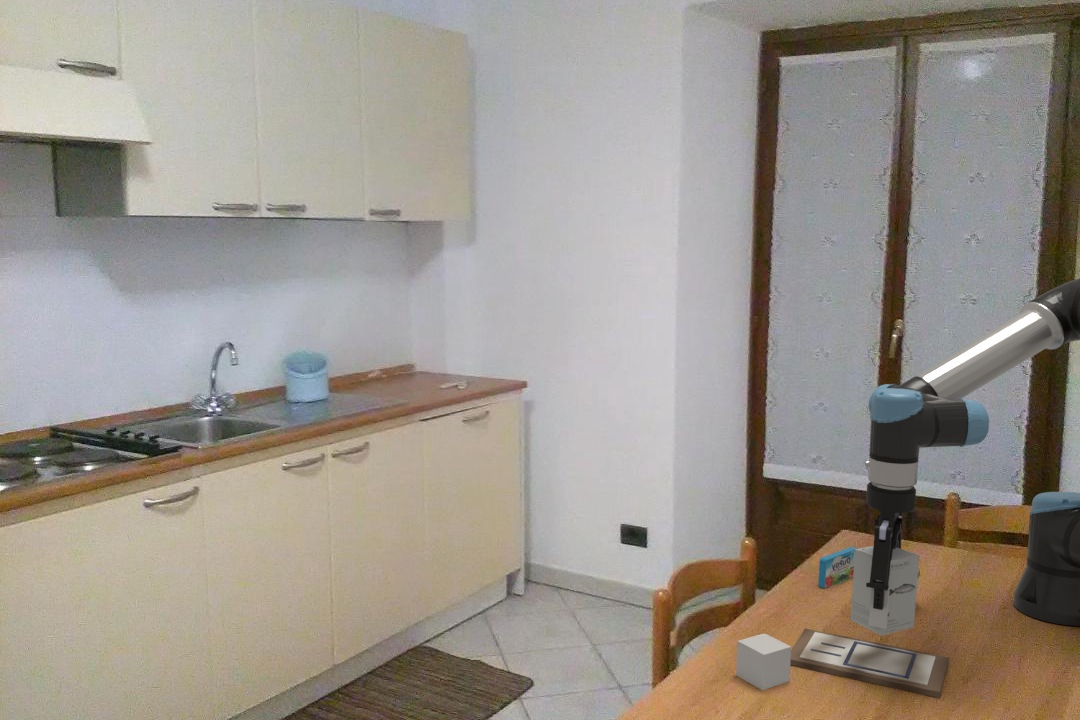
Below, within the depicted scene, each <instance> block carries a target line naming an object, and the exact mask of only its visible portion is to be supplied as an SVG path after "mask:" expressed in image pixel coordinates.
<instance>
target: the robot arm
mask: <svg viewBox="0 0 1080 720" xmlns="http://www.w3.org/2000/svg"><path fill="white" fill-rule="evenodd" d="M1077 341H1080V277H1079V278H1076V279H1073V280H1070V281H1067V282H1065V283H1062V284H1061V285H1058V286H1056V287H1054V288H1052V289H1050V290H1048V291H1046V292H1045V293H1042V294H1041V295H1039V296H1037V297H1035V298H1034V299H1032V300H1030V301H1028V302H1027V303H1025V304H1023V306H1022V307H1021V308H1020V313H1019V314H1017V315H1016V316H1014V317H1012V318H1011V319H1009V320H1007V321H1006V322H1004V323H1003V324H1001V325H999V326H997V327H996V328H994V329H992V330H990V331H989V332H987V333H986V334H984V335H983V336H980V337H979V338H977V339H976V340H974V341H972V342H971V343H969V344H968V345H965V346H964V347H962V348H960V349H959V350H957V351H955V352H953V353H952V354H950V355H949V356H947V357H945V358H943V359H942V360H940V361H938V362H937V363H934V364H933V365H931V366H930V367H928V368H927V369H925V370H924V371H922V372H920V373H918V374H917V375H915V376H914V377H911V378H910V379H908V380H906V381H904V382H902V383H901V384H899V385H898V384H896V383H891V384H890V383H888V384H887V383H885V384H881V385H879V386H878V387H877V388H875V389H874V390H873V392H872V393H871V395H870V397H869V400H868V412H869V414H870V435H869V436H870V437H869V450H868V451H869V453H868V454H869V455H868V456H869V458H868V460H866V461H865V462H864V466H865V467H866V468H868V474H867V475H868V476H867V480H868V481H869V482H868V483H867V485H866V497H865V502H866V505H867V506H868V507H869V508H870V509H872V510H876V511H878V512H879V514H878V515H877V518H875V520H874V528H873V530H874V537H873V546H874V547H873V556H872V566H871V575H870V582H869V583H867V582H866V587H870V588H871V596H870V611H869V626H874V627H879V628H884V629H886V628H887V618H888V603H889V585H888V583H889V576H890V563H891V560H892V553H893V550H894V549H896V547H897V548H900V549H902V536H903V535H902V534H903V526H904V518H903V514H906V513H911V512H913V511H914V510H915V507H916V497H917V495H916V494H917V489H916V488H915V486H916V485H917V484H918V475H919V473H918V472H919V456H920V455H919V454H920V448H921V449H923V448H924V449H925V448H940V447H941V448H943V447H944V448H945V447H946V448H947V447H961V448H963V447H967V446H973V445H974V446H975V445H978V444H980V443H982V442H983V441H984V440H985V439H986V438H987V436H988V433H989V430H990V427H989V426H990V425H989V424H990V417H989V413H988V411H987V409H986V407H985V406H984V405H983V404H982V403H980V402H979V401H978V400H973V399H964V398H965V397H966V396H968V395H970V394H971V393H973V392H975V391H976V390H978V389H980V388H982V387H984V386H985V385H987V384H988V383H990V382H992V381H993V380H995V379H997V378H999V377H1000V376H1001V375H1004V374H1005V373H1007V372H1009V371H1011V369H1013V368H1015V367H1017V366H1018V365H1020V364H1021V363H1024V362H1025V361H1027V360H1029V359H1030V358H1032V357H1034V356H1035V355H1038V354H1039V353H1041V352H1042V351H1043V350H1056V349H1058V348H1060V347H1061V346H1063V345H1066V344H1067V343H1072V342H1077ZM1028 524H1029V525H1028V538H1027V539H1028V540H1027V552H1026V553H1027V554H1026V564H1025V568H1024V570H1023V572H1022V574H1021V577H1020V579H1019V581H1018V583H1017V585H1016V587H1015V588H1014V592H1013V600H1012V604H1013V606H1014V607H1015V609H1017V610H1018V611H1019V612H1021V613H1023V614H1024V615H1026V616H1029V617H1030V618H1034V619H1037V620H1040V621H1043V622H1048V623H1050V624H1051V623H1052V624H1056V625H1063V626H1064V625H1065V626H1073V627H1076V626H1077V627H1080V492H1073V491H1047V492H1040V493H1038V494H1037V495H1035V496H1034V497H1033V499H1032V502H1031V507H1030V512H1029V523H1028ZM876 580H878V581H876ZM880 581H882V582H880Z"/></svg>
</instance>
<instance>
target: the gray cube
mask: <svg viewBox="0 0 1080 720" xmlns="http://www.w3.org/2000/svg"><path fill="white" fill-rule="evenodd" d="M791 649H792V645H791V646H790V645H788V644H787V643H785V642H783V641H781V640H779V639H777V638H775V637H773V636H771V635H769V634H766V633H765V632H764V633H761V634H757V635H753V636H749V637H747V638H743V639H740V640H737V645H736V664H735V665H736V667H735V676H736V677H738V678H740V679H742V680H743V681H745V682H747V683H748V684H750V685H752V686H754V687H755V688H758V689H759V690H761V691H764V690H768V689H770V688H773V687H777V686H779V685H784V684H786V683H789V682H790V676H791V665H790V661H791Z"/></svg>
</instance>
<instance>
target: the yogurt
mask: <svg viewBox="0 0 1080 720" xmlns="http://www.w3.org/2000/svg"><path fill="white" fill-rule="evenodd" d="M855 549H859V548H857V547H854V546H849V547H847V548H845V549H841V550H839V551H836V552H833V553H831V554H828V555H825V556H822V557H820V558H819V565H818V566H819V569H818V585H817V587H819V588H821V587H822V588H821V589H824V588H826V589H828V588H827V587H829V588H831V587H833V586H832V585H834V586H836V585H838V583H839V584H841V583H843V581H844V582H846V581H848V579H849V580H850V578H851V579H853V578H852V577H853V573H854V558H855ZM845 580H846V581H845ZM840 582H841V583H840ZM835 584H836V585H835ZM830 586H831V587H830Z"/></svg>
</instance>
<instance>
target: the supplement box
mask: <svg viewBox="0 0 1080 720" xmlns="http://www.w3.org/2000/svg"><path fill="white" fill-rule="evenodd" d="M873 547H874V545H871V546H866V547H860V548H858V549H855V558H854V573H853V578H852V590H851V591H852V592H851V604H850V605H851V607H850V619H849V620H850V621H852V622H854V623H855V624H857V625H859V626H862V628H866V629H867V630H869V631H872V632H873V633H875V634H877V635H879V636H883V637H884V636H887V635H889V634H894V633H897V632H902V631H905V630H911V629H914V626H915V616H916V615H915V614H916V603H917V591H918V588H917V578H918V568H919V563H920V562H919V561H920V555H918V554H916V553H914V552H911V551H908V550H905V549H903V548H901V549H900V548H897V547H896V549H894V550H893V553H892V560H891V563H890V576H889V583H888V585H889V603H888V618H887V628H886V629H884V628H879V627H874V626H869V611H870V596H871V588H870V587H866V582H867V583H869V582H870V575H871V566H872V556H873ZM876 581H878V580H876ZM880 582H882V581H880Z"/></svg>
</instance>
